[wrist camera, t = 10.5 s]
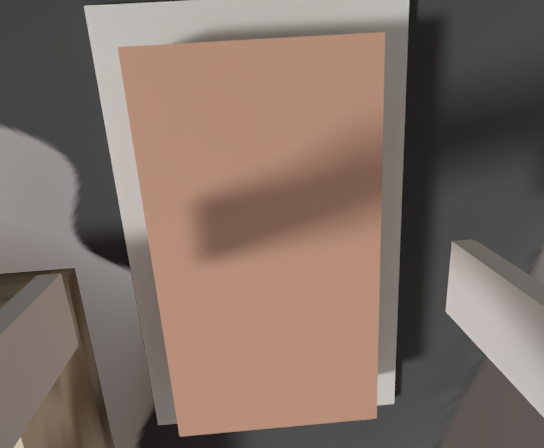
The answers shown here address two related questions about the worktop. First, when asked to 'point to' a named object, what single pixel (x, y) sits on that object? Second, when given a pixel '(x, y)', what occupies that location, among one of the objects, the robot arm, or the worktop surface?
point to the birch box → (66, 382)
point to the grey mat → (246, 26)
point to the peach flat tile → (263, 223)
